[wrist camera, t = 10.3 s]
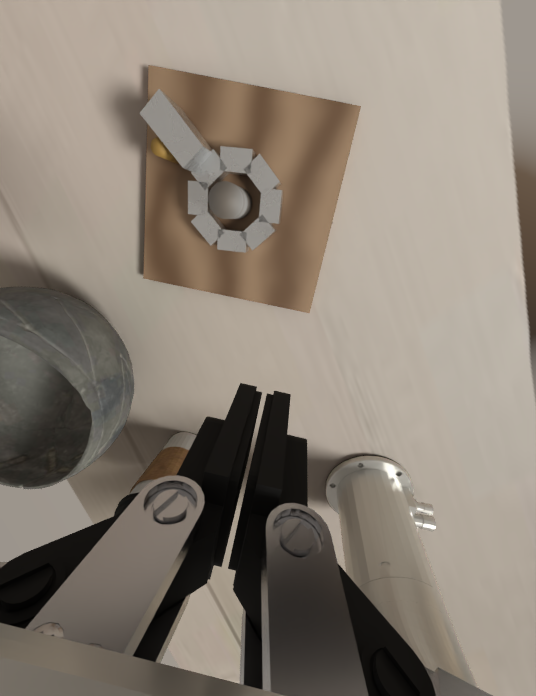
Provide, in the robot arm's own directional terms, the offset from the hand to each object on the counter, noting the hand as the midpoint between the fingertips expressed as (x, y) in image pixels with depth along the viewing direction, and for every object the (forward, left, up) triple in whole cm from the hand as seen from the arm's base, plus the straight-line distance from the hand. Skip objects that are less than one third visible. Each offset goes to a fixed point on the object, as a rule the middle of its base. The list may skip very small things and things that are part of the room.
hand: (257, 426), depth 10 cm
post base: (+7, -7, -28) cm, 30 cm away
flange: (+9, -8, -27) cm, 29 cm away
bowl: (+25, +15, -28) cm, 41 cm away
